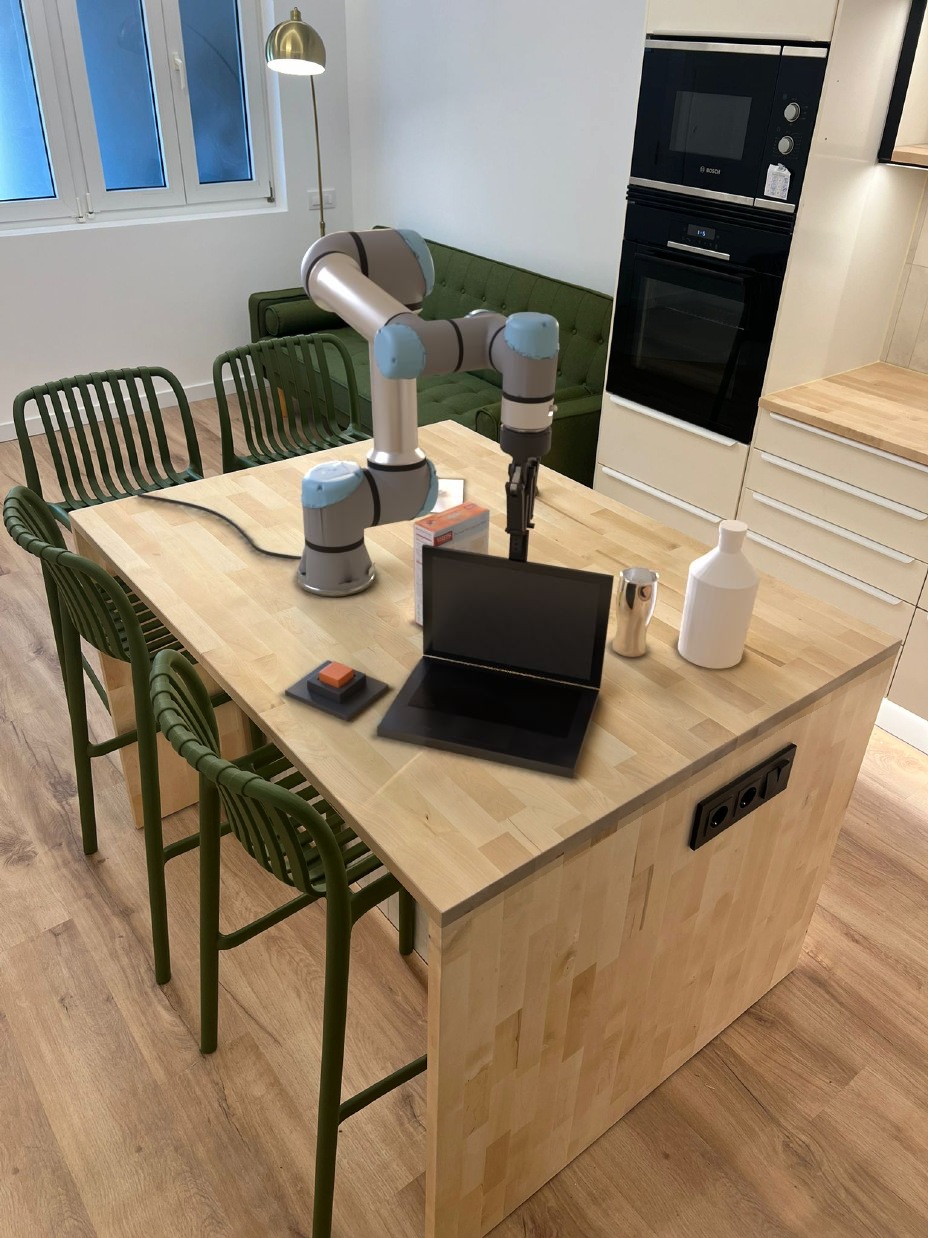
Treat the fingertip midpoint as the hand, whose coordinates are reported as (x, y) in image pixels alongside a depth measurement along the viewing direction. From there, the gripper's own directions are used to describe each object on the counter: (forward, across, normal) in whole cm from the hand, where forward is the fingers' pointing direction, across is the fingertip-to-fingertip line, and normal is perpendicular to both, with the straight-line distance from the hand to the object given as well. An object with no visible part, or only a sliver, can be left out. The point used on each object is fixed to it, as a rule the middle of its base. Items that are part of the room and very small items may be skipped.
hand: (517, 567), depth 149 cm
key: (+19, -13, +26) cm, 35 cm away
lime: (+22, +79, +15) cm, 83 cm away
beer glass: (+22, +16, -18) cm, 33 cm away
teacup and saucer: (+22, +69, +40) cm, 82 cm away
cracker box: (+22, +17, +16) cm, 32 cm away
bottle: (+22, +20, -32) cm, 44 cm away
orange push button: (+21, -13, +26) cm, 36 cm away
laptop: (+22, -11, 0) cm, 24 cm away
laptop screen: (+9, -1, 0) cm, 9 cm away
